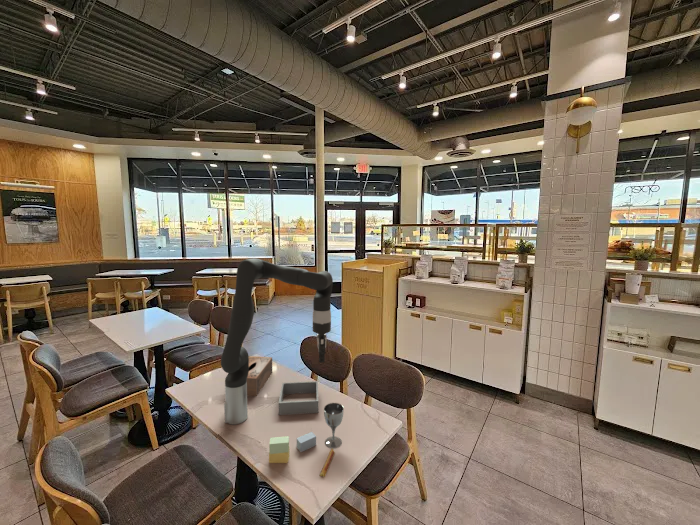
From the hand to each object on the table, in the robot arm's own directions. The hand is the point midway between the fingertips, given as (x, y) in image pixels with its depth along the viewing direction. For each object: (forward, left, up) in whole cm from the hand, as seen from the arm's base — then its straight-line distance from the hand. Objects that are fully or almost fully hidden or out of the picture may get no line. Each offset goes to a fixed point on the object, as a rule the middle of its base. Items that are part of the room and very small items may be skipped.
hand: (321, 357), depth 126 cm
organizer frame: (-10, +24, -34) cm, 43 cm away
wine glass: (+5, -6, -34) cm, 35 cm away
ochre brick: (-16, -13, -34) cm, 40 cm away
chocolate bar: (+2, -17, -35) cm, 39 cm away
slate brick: (-6, -7, -34) cm, 36 cm away
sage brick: (-16, -13, -30) cm, 37 cm away
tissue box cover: (-37, +46, -35) cm, 68 cm away
